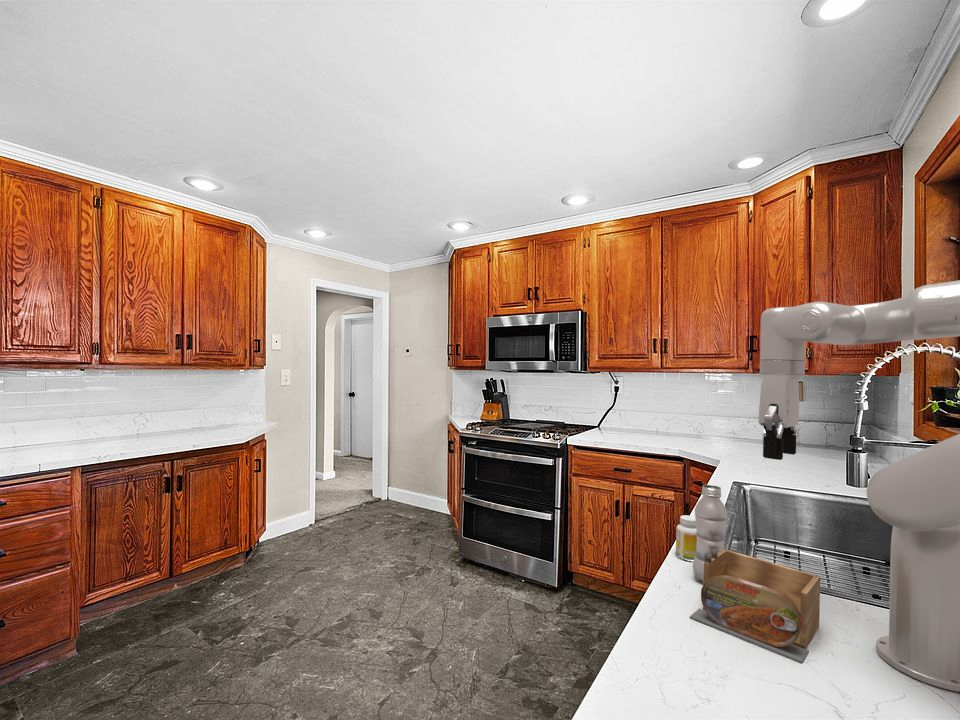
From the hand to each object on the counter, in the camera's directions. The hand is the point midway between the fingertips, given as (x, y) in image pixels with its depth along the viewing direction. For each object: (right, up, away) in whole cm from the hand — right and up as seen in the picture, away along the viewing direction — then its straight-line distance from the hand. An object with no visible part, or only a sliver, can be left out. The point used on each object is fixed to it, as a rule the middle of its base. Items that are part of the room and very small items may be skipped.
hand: (779, 456), depth 92 cm
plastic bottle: (-11, -28, +7) cm, 31 cm away
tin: (-14, -28, -13) cm, 34 cm away
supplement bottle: (-10, -29, +19) cm, 36 cm away
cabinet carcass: (-9, -28, -8) cm, 30 cm away
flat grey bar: (-14, -28, -13) cm, 34 cm away
